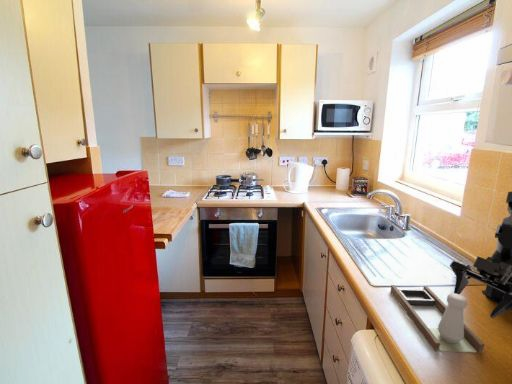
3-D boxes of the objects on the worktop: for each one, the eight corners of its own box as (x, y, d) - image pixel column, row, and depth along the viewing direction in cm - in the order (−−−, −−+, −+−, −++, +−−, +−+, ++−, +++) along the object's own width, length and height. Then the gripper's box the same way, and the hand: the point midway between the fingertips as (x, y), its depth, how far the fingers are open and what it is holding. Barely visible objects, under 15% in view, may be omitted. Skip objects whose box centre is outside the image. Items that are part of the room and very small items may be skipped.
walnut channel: (425, 292, 96) (426, 285, 96) (482, 352, 71) (484, 344, 71) (390, 291, 97) (391, 285, 96) (434, 351, 72) (436, 342, 71)
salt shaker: (451, 330, 78) (460, 289, 75) (467, 346, 73) (477, 302, 70) (431, 331, 78) (439, 290, 75) (446, 347, 72) (455, 303, 69)
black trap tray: (423, 294, 95) (424, 289, 95) (433, 306, 89) (434, 300, 89) (396, 294, 95) (397, 288, 95) (405, 305, 90) (406, 299, 89)
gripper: (459, 234, 83) (428, 275, 81) (541, 263, 66) (505, 315, 65) (470, 254, 88) (441, 293, 86) (549, 284, 71) (515, 334, 70)
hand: (471, 306), depth 77 cm, fingers open, 9 cm apart
